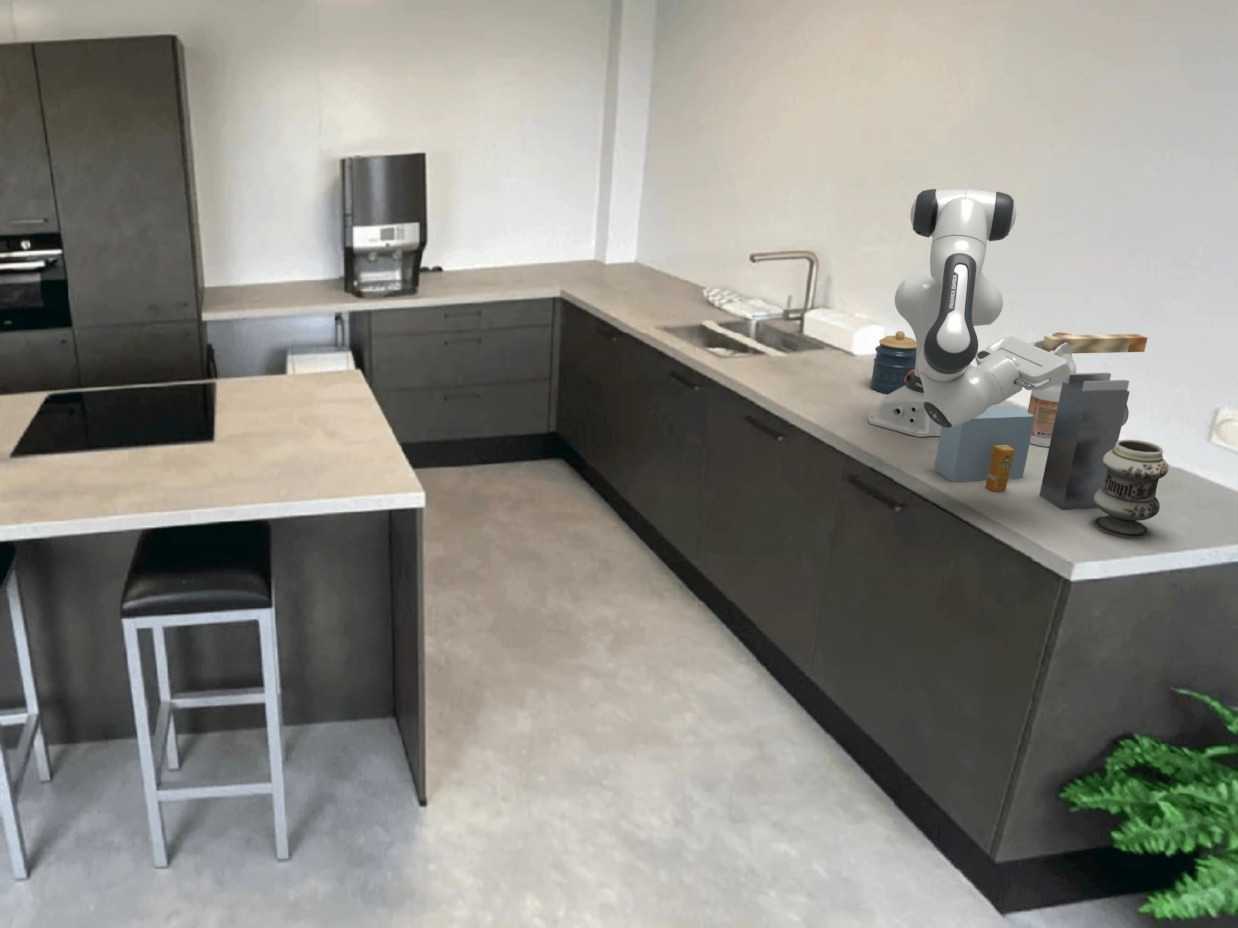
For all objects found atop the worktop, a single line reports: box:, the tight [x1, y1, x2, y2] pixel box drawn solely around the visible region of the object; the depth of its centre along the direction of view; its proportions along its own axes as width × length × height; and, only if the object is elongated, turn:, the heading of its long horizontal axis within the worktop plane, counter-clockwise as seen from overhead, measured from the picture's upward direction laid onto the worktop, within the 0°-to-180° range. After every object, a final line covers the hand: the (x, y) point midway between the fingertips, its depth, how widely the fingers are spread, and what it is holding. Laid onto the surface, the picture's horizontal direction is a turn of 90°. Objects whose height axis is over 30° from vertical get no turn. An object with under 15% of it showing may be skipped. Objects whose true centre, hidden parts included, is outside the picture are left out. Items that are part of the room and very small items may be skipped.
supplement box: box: [985, 445, 1015, 492], centre depth 219 cm, size 3×3×10 cm
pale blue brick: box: [934, 405, 1035, 483], centre depth 226 cm, size 18×8×15 cm, turn 103°
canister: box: [870, 330, 917, 395], centre depth 290 cm, size 13×13×18 cm
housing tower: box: [1039, 372, 1130, 511], centre depth 211 cm, size 12×8×28 cm, turn 103°
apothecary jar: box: [1094, 439, 1169, 539], centre depth 200 cm, size 12×12×18 cm
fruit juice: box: [1027, 332, 1077, 448], centre depth 248 cm, size 9×9×28 cm
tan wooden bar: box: [1042, 333, 1148, 354], centre depth 202 cm, size 22×3×3 cm, turn 103°
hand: (1060, 342), depth 200 cm, fingers closed on tan wooden bar, 3 cm apart
